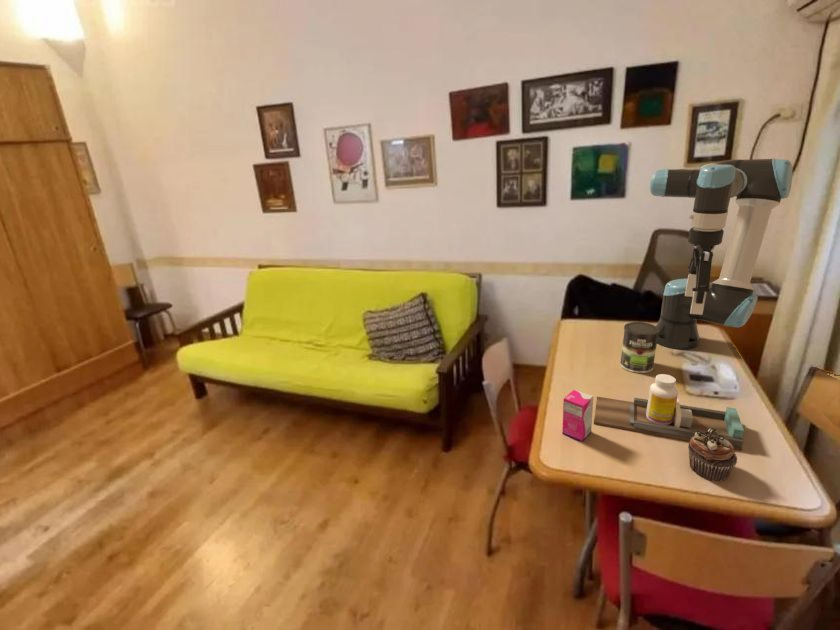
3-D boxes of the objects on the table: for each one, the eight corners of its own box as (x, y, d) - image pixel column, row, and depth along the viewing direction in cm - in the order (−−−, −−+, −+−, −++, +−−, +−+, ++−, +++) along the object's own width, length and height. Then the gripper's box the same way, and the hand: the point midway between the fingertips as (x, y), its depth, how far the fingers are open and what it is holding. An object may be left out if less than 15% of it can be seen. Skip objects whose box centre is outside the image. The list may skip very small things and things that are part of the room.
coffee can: (654, 375, 142) (660, 336, 136) (620, 371, 146) (624, 332, 140) (652, 360, 150) (657, 323, 145) (619, 357, 154) (623, 320, 149)
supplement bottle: (676, 427, 116) (684, 385, 111) (649, 425, 118) (655, 384, 113) (668, 412, 122) (675, 372, 117) (642, 411, 124) (648, 371, 119)
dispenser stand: (596, 398, 132) (598, 385, 130) (731, 420, 118) (734, 405, 117) (593, 423, 121) (595, 409, 119) (741, 450, 108) (745, 434, 106)
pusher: (671, 411, 122) (674, 396, 120) (688, 413, 121) (691, 399, 119) (674, 430, 114) (677, 415, 113) (692, 433, 113) (695, 418, 111)
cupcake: (715, 489, 97) (723, 453, 93) (675, 463, 105) (682, 429, 102) (743, 475, 100) (752, 439, 97) (703, 450, 109) (710, 416, 105)
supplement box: (571, 423, 122) (573, 388, 118) (591, 432, 118) (595, 396, 114) (560, 433, 118) (563, 397, 114) (581, 442, 114) (584, 406, 110)
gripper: (685, 218, 125) (674, 288, 133) (695, 239, 104) (681, 320, 112) (716, 218, 122) (702, 290, 130) (733, 239, 101) (716, 323, 109)
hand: (693, 304), depth 121 cm, fingers open, 13 cm apart
